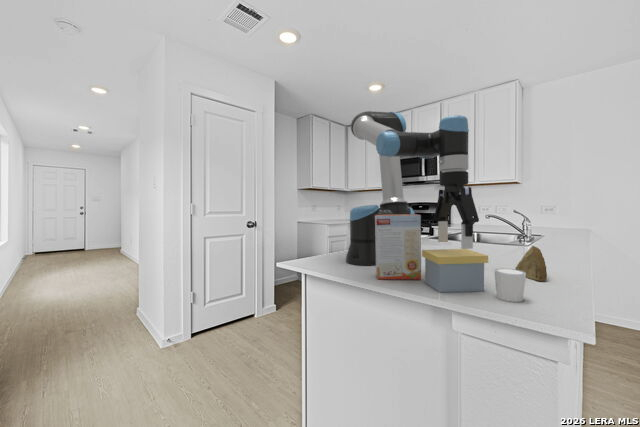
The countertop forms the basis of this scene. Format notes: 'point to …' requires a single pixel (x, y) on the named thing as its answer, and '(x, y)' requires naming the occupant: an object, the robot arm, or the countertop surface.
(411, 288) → the countertop surface
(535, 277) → the rock
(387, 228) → the cracker box
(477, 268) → the tub
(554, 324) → the countertop surface
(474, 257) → the lid
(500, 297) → the white cup
